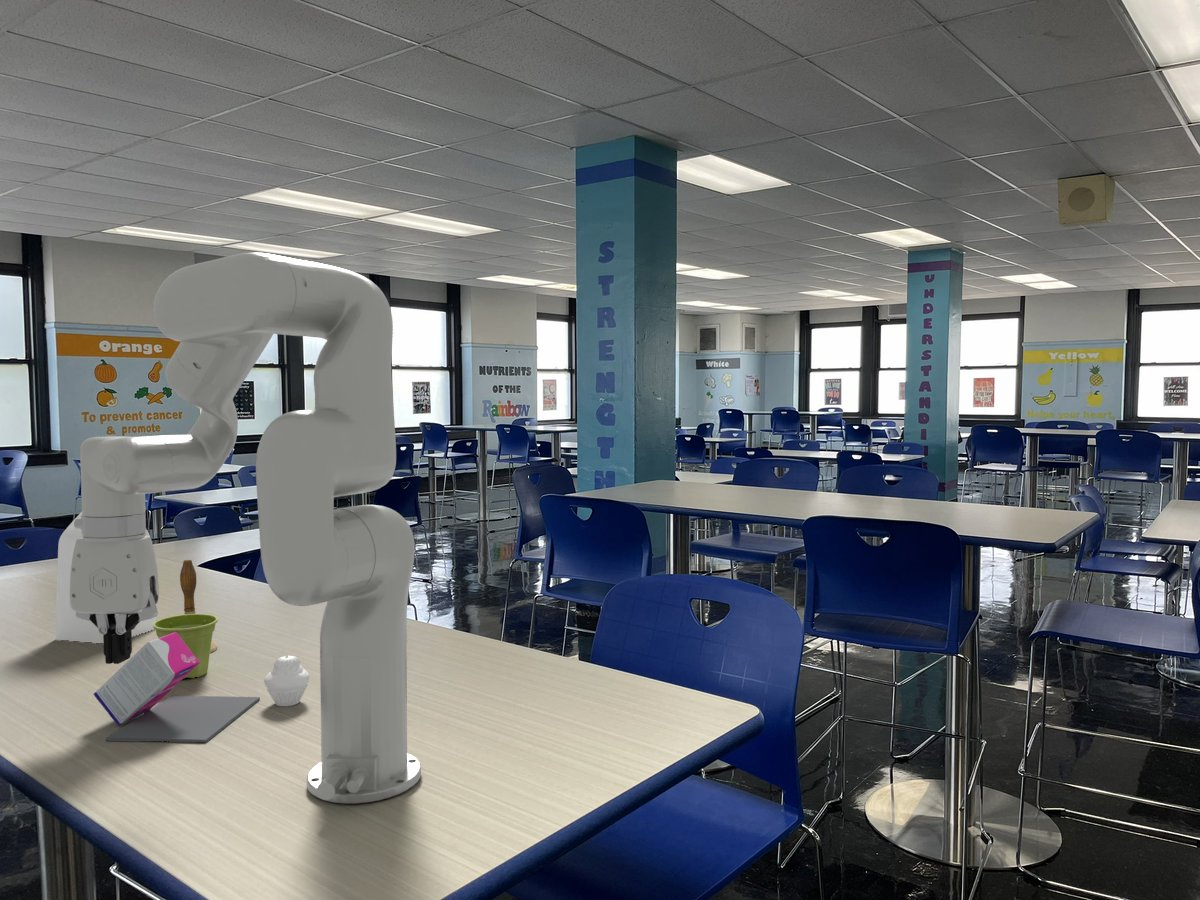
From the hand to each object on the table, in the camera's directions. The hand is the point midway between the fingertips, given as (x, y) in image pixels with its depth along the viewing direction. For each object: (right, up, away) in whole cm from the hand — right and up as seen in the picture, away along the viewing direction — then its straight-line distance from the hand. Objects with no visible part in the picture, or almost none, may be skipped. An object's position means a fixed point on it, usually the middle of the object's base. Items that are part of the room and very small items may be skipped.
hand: (118, 660), depth 118 cm
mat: (+10, -8, 0) cm, 12 cm away
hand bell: (-5, -7, +33) cm, 34 cm away
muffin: (+21, -8, +7) cm, 23 cm away
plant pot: (0, -7, +19) cm, 21 cm away
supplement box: (0, -6, 0) cm, 6 cm away
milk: (-26, -6, +43) cm, 51 cm away
